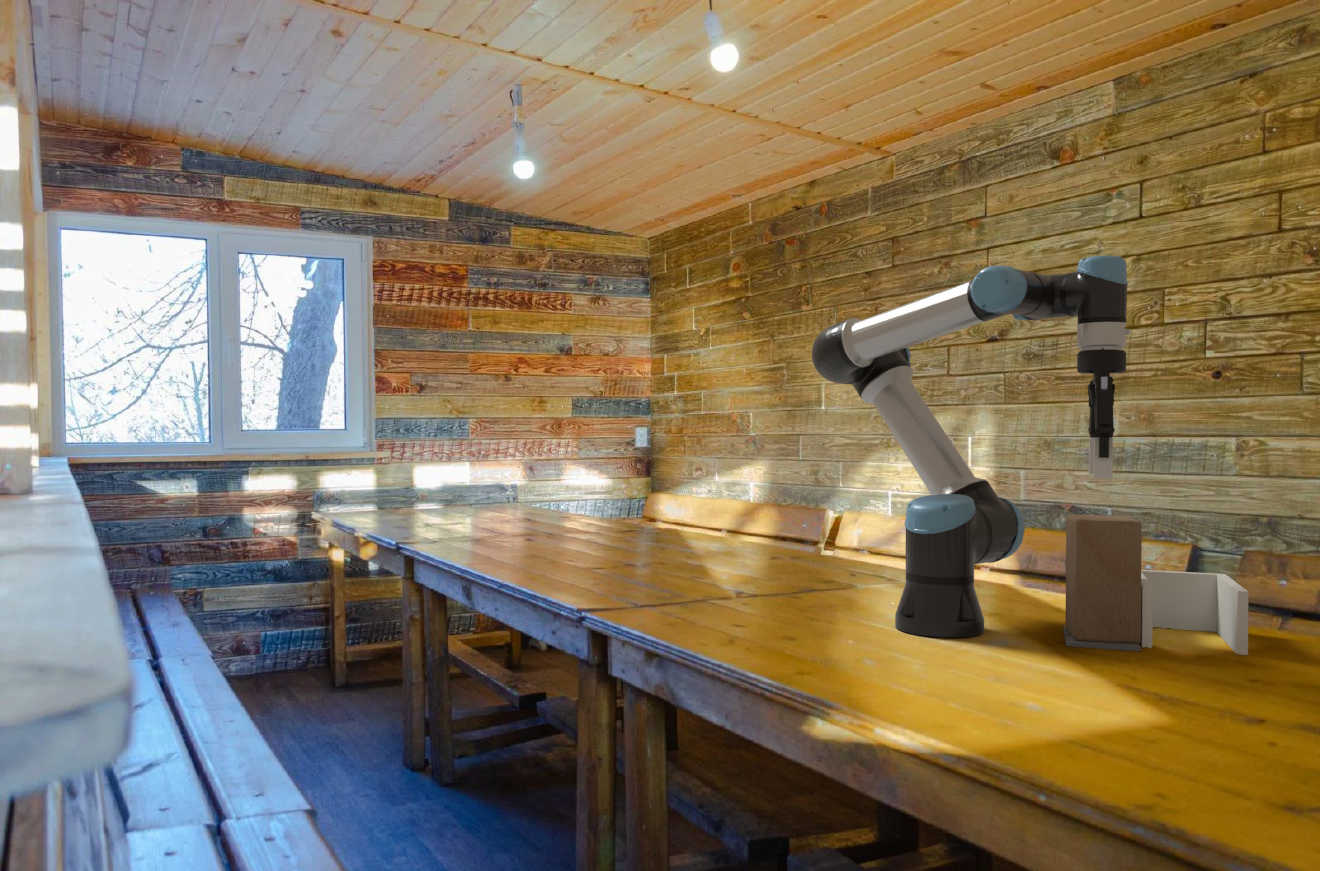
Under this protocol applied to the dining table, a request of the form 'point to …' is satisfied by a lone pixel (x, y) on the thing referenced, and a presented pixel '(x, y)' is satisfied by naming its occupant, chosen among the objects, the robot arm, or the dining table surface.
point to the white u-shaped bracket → (1194, 605)
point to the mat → (1099, 643)
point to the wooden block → (1103, 578)
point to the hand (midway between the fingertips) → (1100, 476)
